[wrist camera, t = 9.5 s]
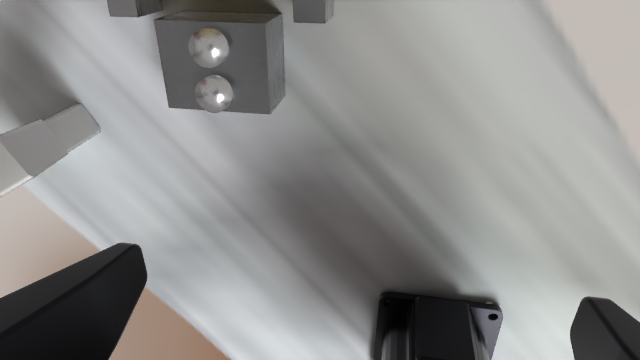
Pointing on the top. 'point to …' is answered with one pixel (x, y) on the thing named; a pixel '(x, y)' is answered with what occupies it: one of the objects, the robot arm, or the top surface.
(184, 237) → the top surface
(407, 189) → the top surface
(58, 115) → the grey angular piece
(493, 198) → the top surface
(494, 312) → the robot arm
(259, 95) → the studded rectangular link
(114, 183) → the top surface
